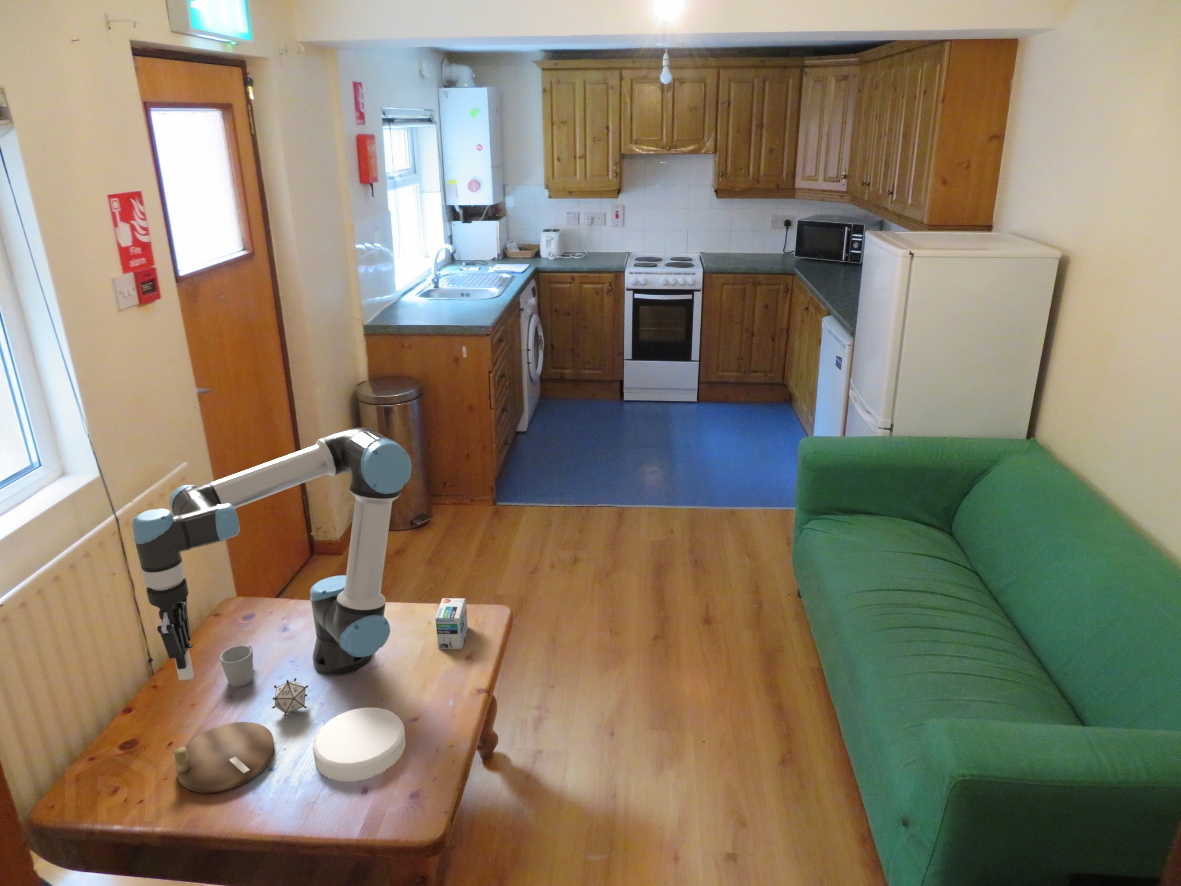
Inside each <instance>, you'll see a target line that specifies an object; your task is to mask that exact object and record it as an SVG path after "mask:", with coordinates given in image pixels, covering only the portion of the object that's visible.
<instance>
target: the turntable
mask: <svg viewBox="0 0 1181 886" xmlns="http://www.w3.org/2000/svg"><path fill="white" fill-rule="evenodd" d="M275 749H276V748H275V741H274V736H273V734H272V732H271V731H270V730H269V728H267V727H266V726H265V725H262V724H260V723H258V722H257V723H256V722H251V721H239V722H231V723H226V724H222V725H219V726H217V727H214V728H211V729H209V730H207V731H204V732H202V733H201V734H199V735H198V736H196V737H194V738H193V739H192V740H191V741H189V742H188V743H187V744H186V745H185V746H181V747H178V748H175V750H174V751H173V754H174V759H175V771H176V775H177V779H178V781H179V783H180V785H182V787H184V788H186V789H188V790H190V791H192V792H197V793H204V794H207V793H208V794H209V793H219V792H224V791H227V790H230V789H234V788H237V787H239V786H241V785H243V784H245V783H247V782H249V781H251V780H253V778H255V777H257V776H258V775H259V774H261V773H262V772H263V770H264V769H266V768H267V766H268V765H270V764H269V763H270V762H271V761H272V759H273V757H274V754H275Z"/></svg>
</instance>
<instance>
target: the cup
mask: <svg viewBox="0 0 1181 886" xmlns="http://www.w3.org/2000/svg"><path fill="white" fill-rule="evenodd" d="M219 661H220V664H221V665H222V669H223V672H224V675H225V677H226V680H227V682H228V685H229V686H231V687H234V688H239V687H244V686H246V685H248V684H250V683H251V682H252V681H253V679H254V651H253V648H252V646H251V645H244V644H241V645H234V646H231V647H228V648H227V649H225V650H223V652H221V654H220V656H219Z"/></svg>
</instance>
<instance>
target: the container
mask: <svg viewBox="0 0 1181 886" xmlns="http://www.w3.org/2000/svg"><path fill="white" fill-rule="evenodd" d="M312 744H313V746H312V751H313V752H312V753H313V759H314V763H315V765H316V767H317V770H318V772H320V773H321V774H322V775H323V776H325V777H326V778H328V779H331V780H334V781H337V782H351V783H352V782H358V781H363V780H368V778H369V779H371V778H373V777H375V775H376V776H378V775H381V774H382V773H384V772H386V771H387V770H388V769H389V767H390V766H391V767H392V766H394V765H395V764H396V762H398V760H400V758H401V757H402V756H403V753H404V750H405V747H406V734H405V724H404V723H403V721H402V720H401V718H400V716H398V715H397V714H396V713H393V712H392V711H391V710H387V709H385V708H380V707H360V708H356V709H355V708H353V709H350V710H348V711H345V712H342V713H340V714H338V715H336V716H335V717H333V718H331V719H329V720H328V721H327V722H326V723H325V724H324V725H323V726H322V727H321V728H320V729H319V730H318V732H317V734H316V735H315V738H314V739H313V743H312ZM391 767H390V768H391ZM387 768H388V769H387ZM386 769H387V770H386ZM383 771H384V772H383ZM377 774H378V775H377ZM372 776H373V777H372ZM370 777H371V778H370Z"/></svg>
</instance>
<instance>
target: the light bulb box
mask: <svg viewBox="0 0 1181 886" xmlns="http://www.w3.org/2000/svg"><path fill="white" fill-rule="evenodd" d="M434 618H435V629H436V638H437V649H438V650H462V649H463V648H462V647H464V645H463V644H464V643H465V641H466V637H465V636H467V633H466V632H468V629H467V628H468V627H469V625H468V612H467V600H466V598H461V597H460V598H458V597H457V598H456V597H455V598H448V597H447V598H446V597H445V598H442V599H441V601H440V604H439V607H438V610H437V611H436V615H435V617H434ZM464 640H465V641H464Z"/></svg>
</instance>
